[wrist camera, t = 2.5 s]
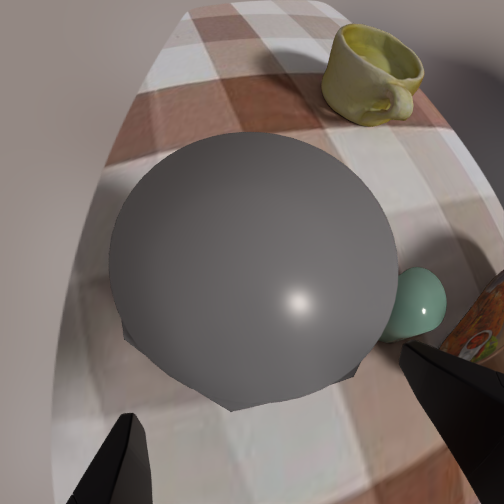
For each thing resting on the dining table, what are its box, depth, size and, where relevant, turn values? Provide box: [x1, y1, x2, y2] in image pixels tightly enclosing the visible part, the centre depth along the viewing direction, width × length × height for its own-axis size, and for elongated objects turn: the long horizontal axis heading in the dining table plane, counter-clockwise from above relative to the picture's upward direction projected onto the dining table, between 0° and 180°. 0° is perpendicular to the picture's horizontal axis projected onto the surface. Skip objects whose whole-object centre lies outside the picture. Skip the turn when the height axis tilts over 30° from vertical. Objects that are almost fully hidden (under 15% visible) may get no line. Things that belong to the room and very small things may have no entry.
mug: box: [321, 24, 424, 127], centre depth 25 cm, size 12×10×10 cm
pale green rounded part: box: [379, 267, 447, 343], centre depth 18 cm, size 4×4×4 cm
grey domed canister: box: [109, 132, 398, 412], centre depth 13 cm, size 7×7×13 cm
